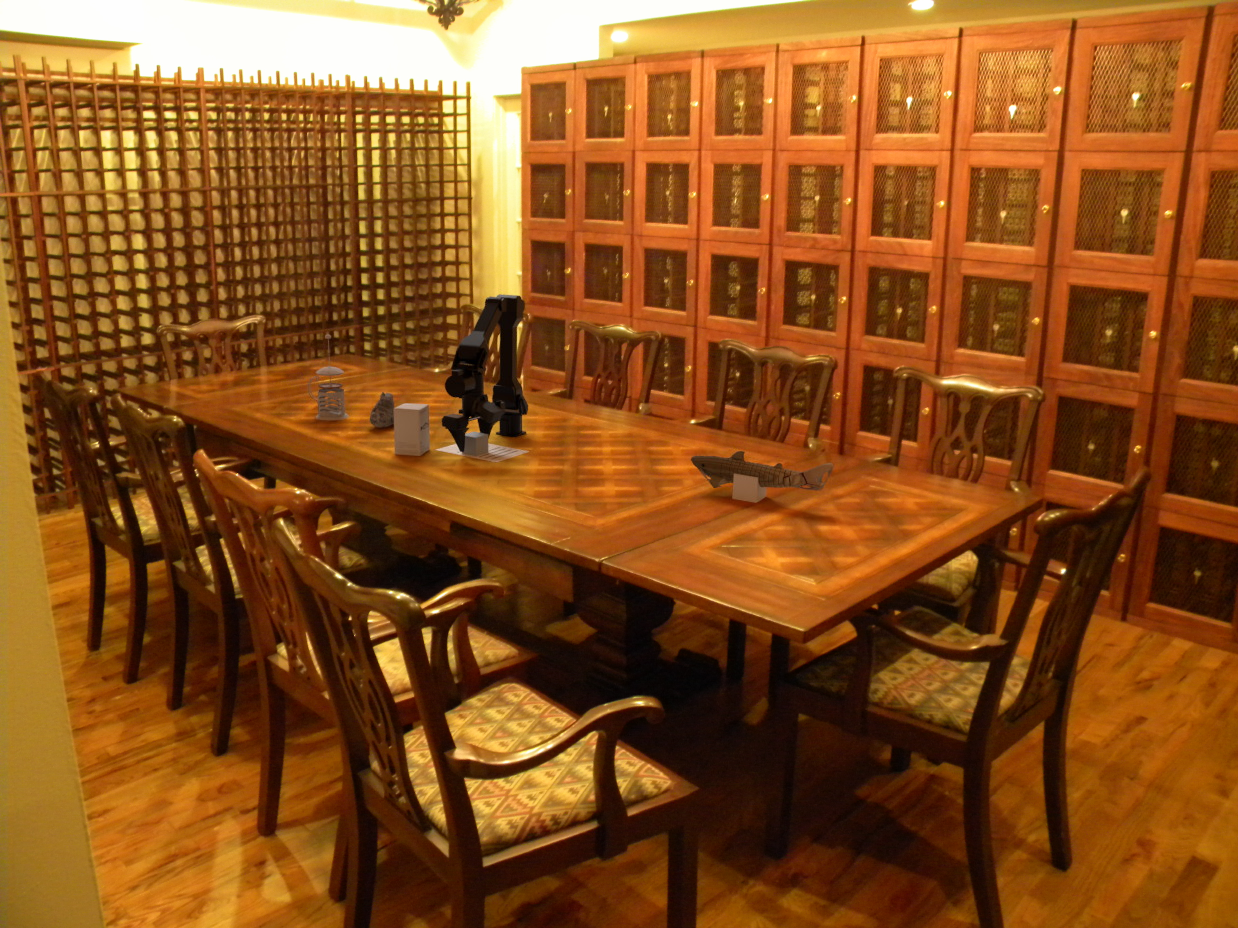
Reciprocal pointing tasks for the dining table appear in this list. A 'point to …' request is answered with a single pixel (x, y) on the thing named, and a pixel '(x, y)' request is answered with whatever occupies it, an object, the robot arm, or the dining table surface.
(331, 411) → the french press
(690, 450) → the dining table surface
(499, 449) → the letter
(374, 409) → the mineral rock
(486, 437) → the cube
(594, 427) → the dining table surface
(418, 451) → the supplement box
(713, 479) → the wood carving
